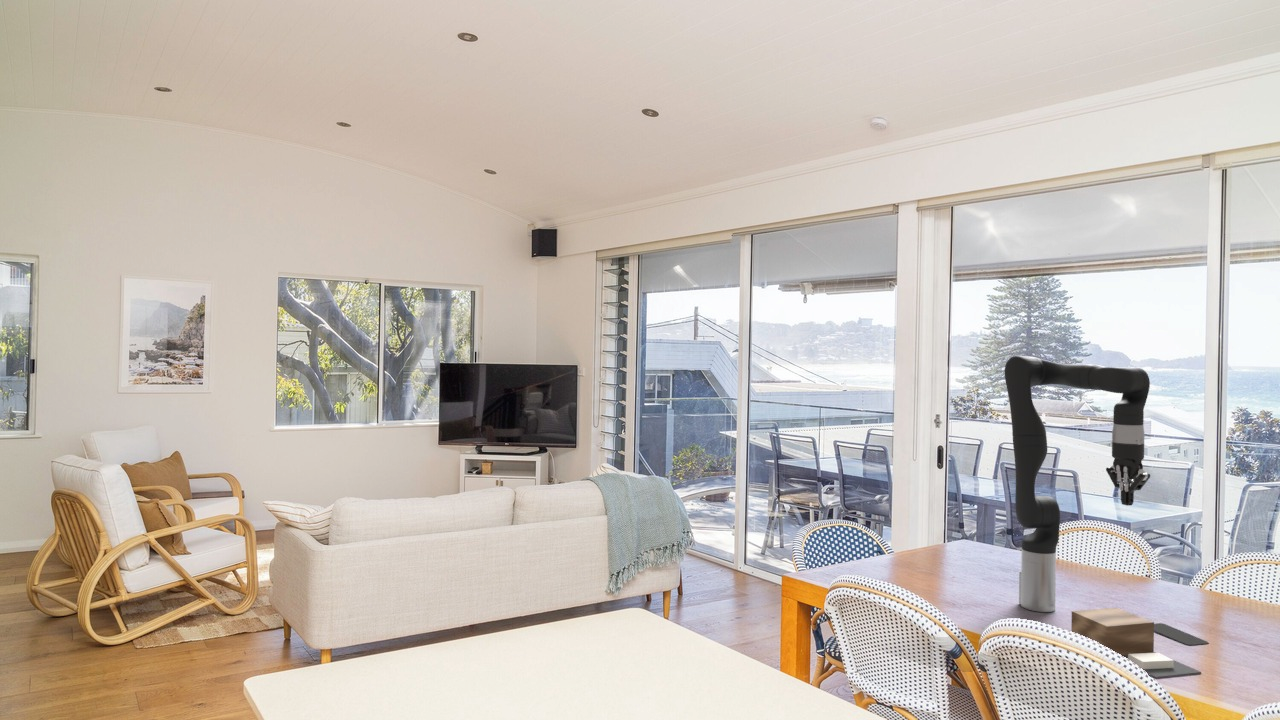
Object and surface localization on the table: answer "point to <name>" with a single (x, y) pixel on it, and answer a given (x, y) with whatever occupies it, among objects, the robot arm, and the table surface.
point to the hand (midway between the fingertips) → (1127, 504)
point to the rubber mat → (1171, 670)
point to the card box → (1151, 661)
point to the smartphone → (1177, 635)
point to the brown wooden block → (1115, 629)
